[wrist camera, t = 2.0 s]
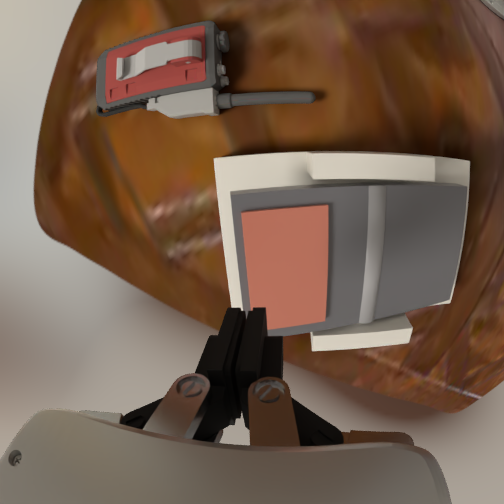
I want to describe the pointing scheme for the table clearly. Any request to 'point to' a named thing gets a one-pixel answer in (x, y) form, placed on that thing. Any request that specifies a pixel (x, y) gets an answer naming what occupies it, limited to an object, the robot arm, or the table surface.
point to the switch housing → (329, 172)
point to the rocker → (346, 250)
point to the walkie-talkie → (175, 75)
